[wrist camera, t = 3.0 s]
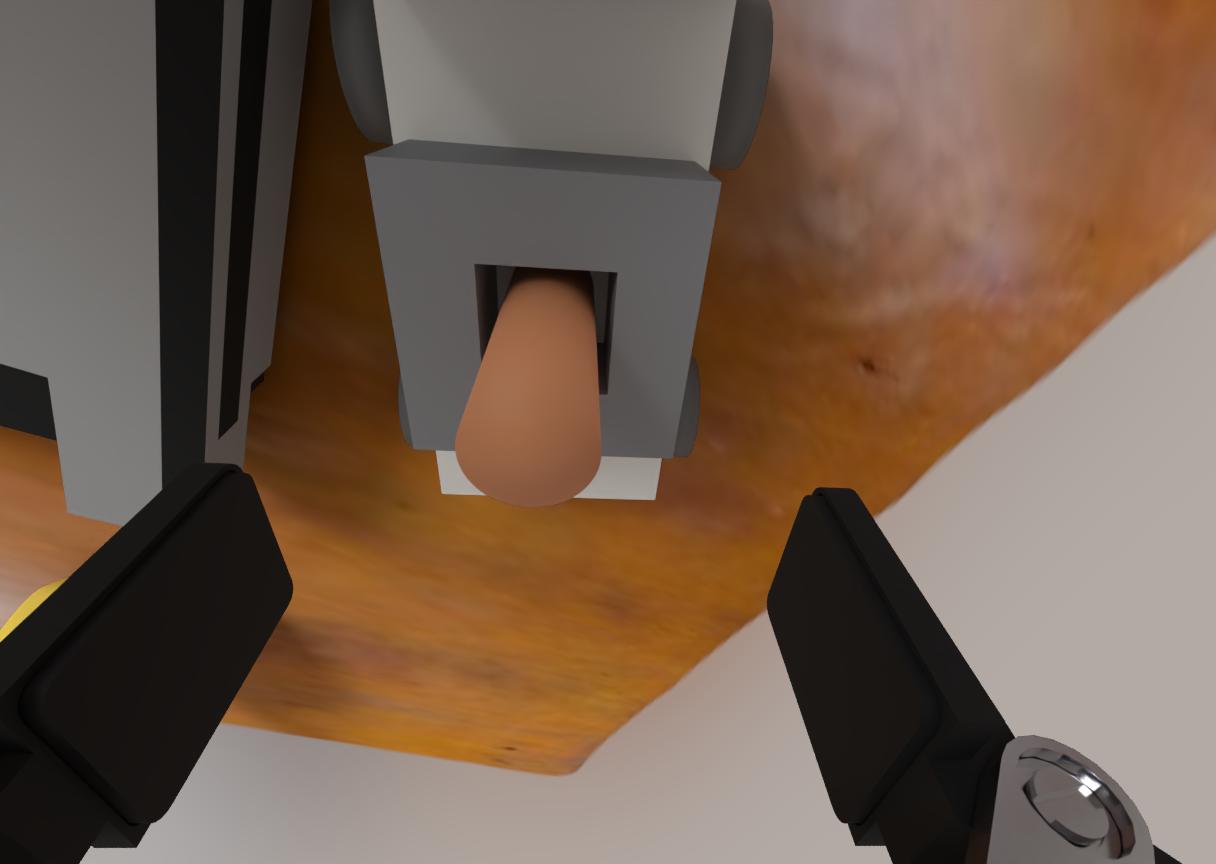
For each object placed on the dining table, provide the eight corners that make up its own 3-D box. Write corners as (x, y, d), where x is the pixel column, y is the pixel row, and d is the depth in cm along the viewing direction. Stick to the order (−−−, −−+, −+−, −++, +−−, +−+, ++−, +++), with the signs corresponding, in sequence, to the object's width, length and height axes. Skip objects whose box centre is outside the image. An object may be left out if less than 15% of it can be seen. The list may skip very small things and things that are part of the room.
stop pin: (509, 244, 18) (447, 386, 10) (596, 250, 18) (606, 393, 10) (512, 326, 20) (461, 505, 12) (591, 330, 20) (596, 509, 12)
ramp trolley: (369, -69, 18) (-3, -320, 6) (749, -30, 18) (1001, -189, 7) (436, 426, 29) (343, 649, 18) (670, 435, 30) (722, 652, 19)
